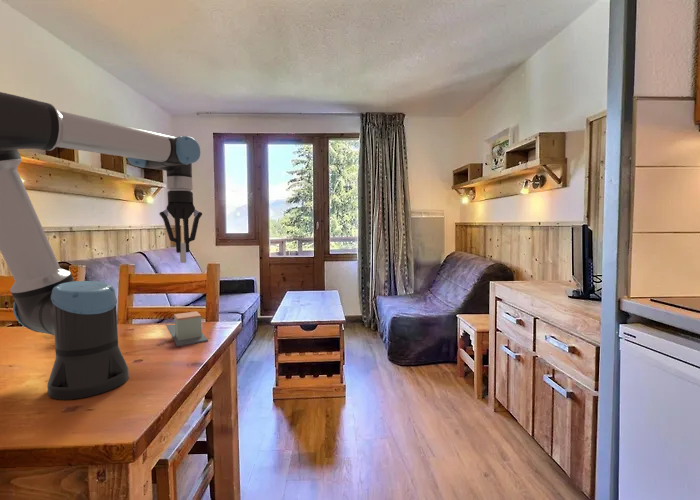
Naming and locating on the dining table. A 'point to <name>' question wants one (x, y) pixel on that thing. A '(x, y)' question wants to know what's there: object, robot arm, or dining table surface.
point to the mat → (186, 341)
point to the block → (188, 325)
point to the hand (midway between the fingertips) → (183, 262)
